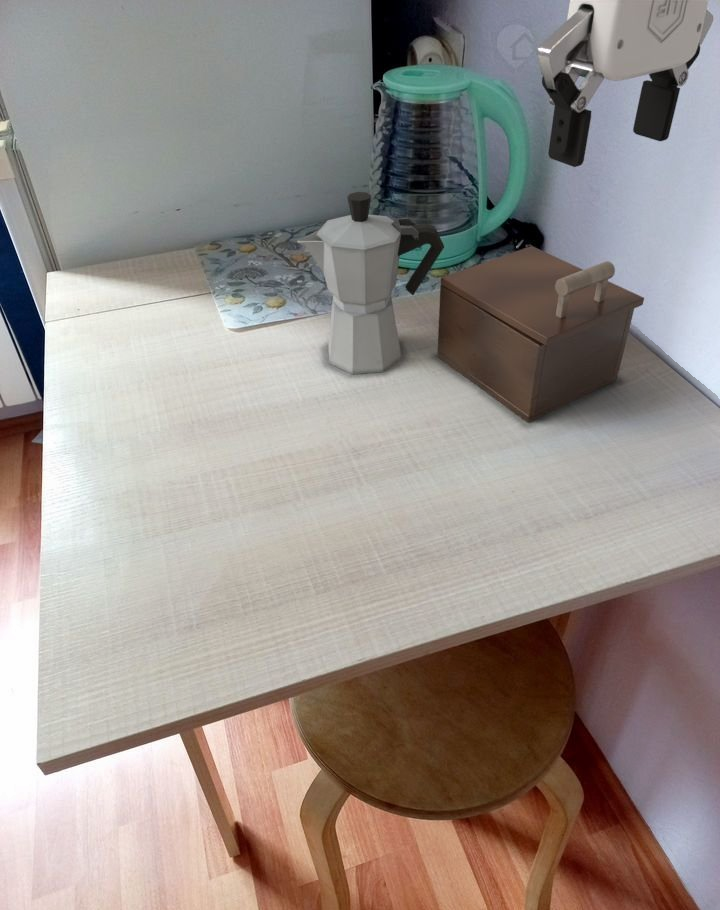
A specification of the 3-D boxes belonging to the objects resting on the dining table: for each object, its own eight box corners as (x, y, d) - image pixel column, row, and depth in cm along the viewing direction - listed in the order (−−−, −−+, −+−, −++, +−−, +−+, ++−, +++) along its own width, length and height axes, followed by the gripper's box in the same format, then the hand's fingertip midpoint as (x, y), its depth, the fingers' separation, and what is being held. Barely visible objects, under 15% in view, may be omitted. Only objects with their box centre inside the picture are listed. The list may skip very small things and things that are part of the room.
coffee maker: (309, 379, 76) (294, 217, 65) (306, 337, 83) (292, 182, 71) (446, 368, 77) (455, 206, 65) (432, 327, 84) (438, 173, 72)
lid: (643, 305, 68) (653, 260, 65) (546, 346, 63) (553, 299, 60) (530, 252, 78) (535, 211, 75) (440, 284, 73) (441, 241, 70)
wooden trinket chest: (617, 380, 74) (635, 305, 69) (527, 422, 69) (539, 346, 64) (521, 322, 84) (530, 252, 78) (437, 356, 79) (440, 284, 73)
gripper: (611, -116, 40) (564, 186, 51) (794, -132, 47) (717, 139, 58) (520, -118, 45) (495, 159, 56) (698, -131, 52) (644, 118, 63)
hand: (608, 148), depth 57 cm, fingers open, 9 cm apart
